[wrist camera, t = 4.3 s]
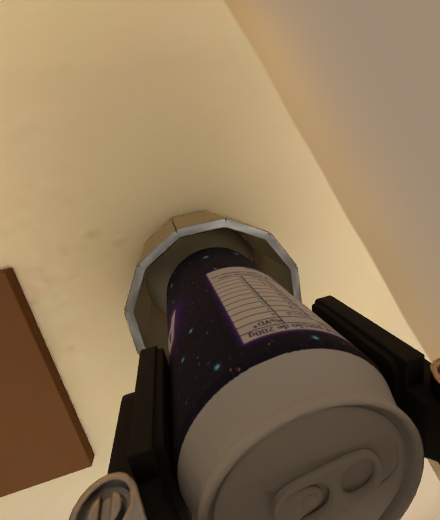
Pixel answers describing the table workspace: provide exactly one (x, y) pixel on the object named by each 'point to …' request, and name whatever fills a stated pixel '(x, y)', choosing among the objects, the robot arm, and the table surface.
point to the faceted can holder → (262, 242)
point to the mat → (32, 402)
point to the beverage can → (277, 405)
